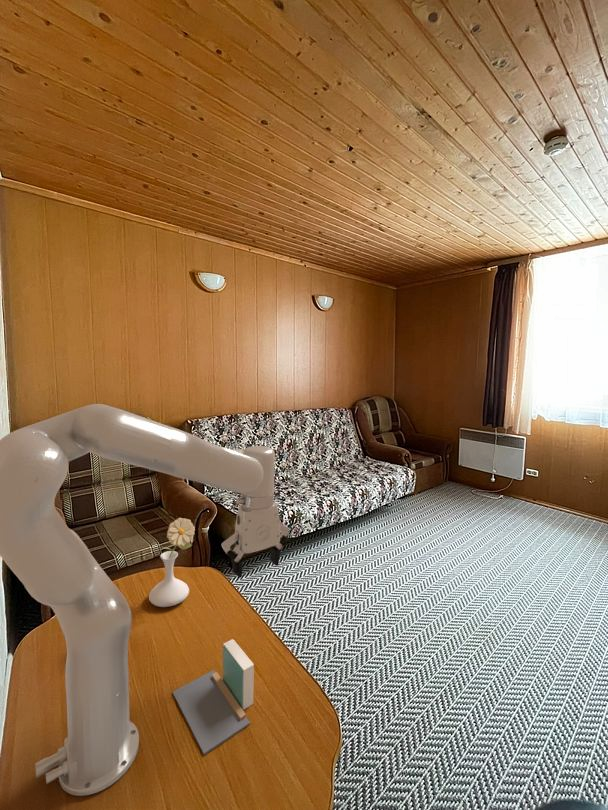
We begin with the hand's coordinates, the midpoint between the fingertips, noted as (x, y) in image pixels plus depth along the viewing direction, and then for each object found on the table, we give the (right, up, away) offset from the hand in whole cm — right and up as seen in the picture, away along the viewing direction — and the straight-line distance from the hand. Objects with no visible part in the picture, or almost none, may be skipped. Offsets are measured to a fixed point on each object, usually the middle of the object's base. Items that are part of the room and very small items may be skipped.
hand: (256, 568), depth 88 cm
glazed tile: (-3, -23, -8) cm, 25 cm away
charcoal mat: (-8, -24, -12) cm, 28 cm away
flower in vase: (-28, -19, +23) cm, 41 cm away
